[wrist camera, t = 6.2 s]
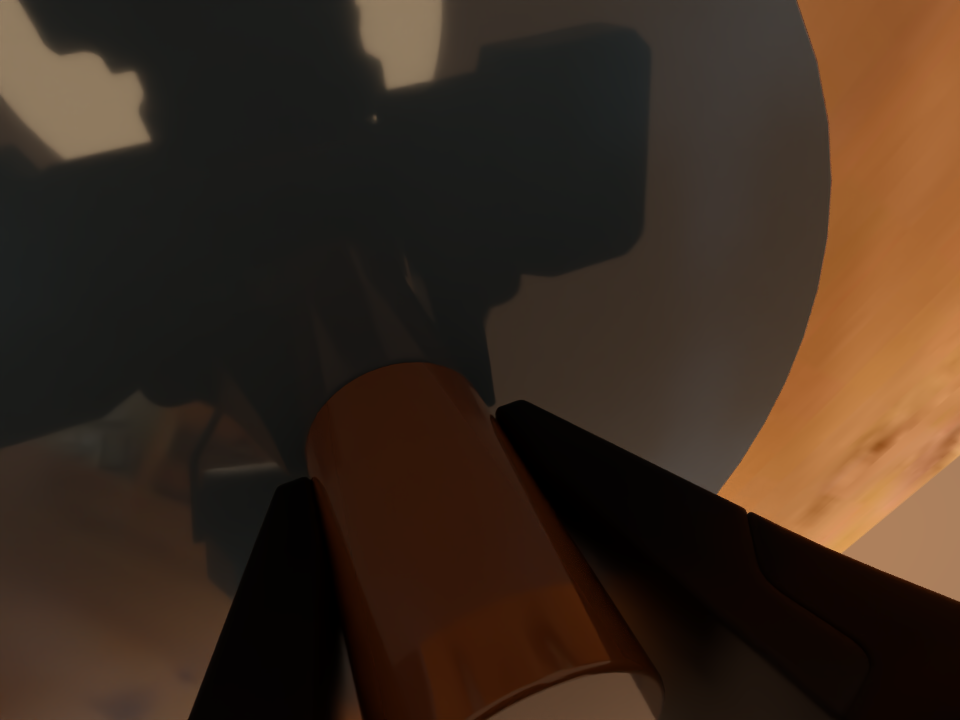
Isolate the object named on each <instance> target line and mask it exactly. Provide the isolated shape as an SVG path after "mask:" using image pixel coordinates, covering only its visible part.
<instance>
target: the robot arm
mask: <svg viewBox="0 0 960 720" xmlns="http://www.w3.org/2000/svg"><path fill="white" fill-rule="evenodd" d="M495 419H496V421H497V422H498V424H499V425H500V427H501V428H502V430H503V431H504V433H505V435H506V436H507V438H508V439H509V441H510V442H511V444H512V445H513V447H514V448H515V450H516V452H517V453H518V455H519V456H520V458H521V459H522V461H523V462H524V464H525V466H526V467H527V469H528V470H529V472H530V473H531V475H532V476H533V478H534V479H535V481H536V483H537V484H538V486H539V487H540V489H541V490H542V492H543V493H544V495H545V497H546V498H547V500H548V501H549V503H550V504H551V506H552V507H553V509H554V511H555V512H556V514H557V515H558V517H559V518H560V520H561V521H562V523H563V524H564V526H565V528H566V529H567V531H568V532H569V534H570V535H571V537H572V538H573V540H574V542H575V543H576V545H577V546H578V548H579V549H580V551H581V552H582V554H583V555H584V557H585V559H586V560H587V562H588V563H589V565H590V566H591V568H592V569H593V571H594V573H595V574H596V576H597V577H598V579H599V580H600V582H601V583H602V585H603V586H604V588H605V590H606V591H607V593H608V594H609V596H610V597H611V599H612V600H613V602H614V604H615V605H616V607H617V608H618V610H619V611H620V613H621V614H622V616H623V617H624V619H625V621H626V622H627V624H628V625H629V627H630V628H631V630H632V631H633V633H634V635H635V636H636V638H637V639H638V641H639V642H640V644H641V645H642V647H643V649H644V650H645V652H646V653H647V655H648V656H649V658H650V659H651V661H652V662H653V664H654V666H655V667H656V669H657V670H658V672H659V673H660V675H661V677H662V680H663V684H664V688H665V701H664V705H663V709H662V711H661V714H660V716H659V718H658V720H960V602H959V601H956V600H954V599H951V598H949V597H946V596H944V595H941V594H939V593H936V592H934V591H931V590H929V589H926V588H924V587H921V586H918V585H916V584H914V583H911V582H909V581H906V580H904V579H901V578H898V577H896V576H894V575H891V574H889V573H886V572H883V571H881V570H879V569H876V568H874V567H871V566H869V565H867V564H864V563H862V562H859V561H857V560H855V559H852V558H850V557H848V556H845V555H843V554H841V553H838V552H836V551H833V550H831V549H829V548H826V547H824V546H822V545H820V544H818V543H816V542H814V541H811V540H809V539H807V538H805V537H803V536H801V535H799V534H796V533H794V532H792V531H790V530H788V529H786V528H784V527H781V526H779V525H777V524H775V523H773V522H771V521H769V520H767V519H765V518H763V517H761V516H759V515H757V514H755V513H753V512H749V513H748V514H747V512H746V510H745V509H744V508H742V507H740V506H738V505H736V504H734V503H732V502H730V501H728V500H726V499H724V498H722V497H720V496H718V495H716V494H714V493H712V492H710V491H708V490H706V489H704V488H702V487H700V486H698V485H696V484H694V483H692V482H690V481H688V480H686V479H684V478H682V477H680V476H678V475H676V474H674V473H672V472H670V471H668V470H666V469H663V468H661V467H659V466H657V465H655V464H653V463H651V462H649V461H647V460H645V459H643V458H641V457H639V456H637V455H635V454H633V453H631V452H629V451H627V450H625V449H623V448H621V447H619V446H617V445H615V444H613V443H611V442H609V441H607V440H605V439H603V438H601V437H599V436H597V435H595V434H593V433H591V432H589V431H587V430H585V429H583V428H581V427H579V426H576V425H574V424H572V423H570V422H568V421H566V420H564V419H562V418H560V417H558V416H556V415H554V414H552V413H550V412H548V411H546V410H544V409H542V408H540V407H538V406H536V405H534V404H532V403H530V402H528V401H526V400H517V401H514V402H511V403H508V404H506V405H503V406H500V407H498V408H497V410H496V412H495ZM188 720H361V715H360V711H359V706H358V701H357V697H356V692H355V688H354V683H353V678H352V674H351V669H350V665H349V660H348V655H347V651H346V646H345V642H344V637H343V632H342V628H341V623H340V619H339V614H338V610H337V605H336V600H335V595H334V589H333V584H332V578H331V573H330V568H329V563H328V558H327V552H326V548H325V543H324V539H323V534H322V530H321V525H320V521H319V516H318V512H317V507H316V503H315V498H314V493H313V489H312V484H311V481H310V479H309V478H307V477H301V478H298V479H295V480H293V481H290V482H287V483H284V484H281V485H279V486H278V487H277V488H276V489H275V491H274V494H273V496H272V499H271V502H270V504H269V507H268V510H267V512H266V515H265V518H264V520H263V523H262V525H261V528H260V531H259V533H258V536H257V539H256V541H255V544H254V547H253V549H252V552H251V554H250V557H249V560H248V562H247V565H246V568H245V570H244V573H243V575H242V578H241V581H240V583H239V586H238V589H237V591H236V594H235V597H234V599H233V602H232V604H231V607H230V610H229V612H228V615H227V618H226V620H225V623H224V625H223V628H222V631H221V633H220V636H219V639H218V641H217V644H216V647H215V649H214V652H213V654H212V657H211V660H210V662H209V665H208V668H207V670H206V673H205V676H204V678H203V681H202V683H201V686H200V689H199V691H198V694H197V697H196V699H195V702H194V704H193V707H192V710H191V712H190V715H189V718H188Z"/></svg>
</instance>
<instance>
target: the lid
mask: <svg viewBox="0 0 960 720" xmlns="http://www.w3.org/2000/svg"><path fill="white" fill-rule="evenodd" d="M831 187H832V174H831V155H830V136H829V121H828V116H827V110H826V105H825V100H824V94H823V89H822V84H821V78H820V73H819V68H818V62H817V58H816V55H815V52H814V50H813V47H812V44H811V41H810V38H809V35H808V32H807V29H806V26H805V23H804V20H803V17H802V14H801V11H800V8H799V5H798V2H797V0H0V720H188V718H189V715H190V712H191V710H192V707H193V704H194V702H195V699H196V697H197V694H198V691H199V689H200V686H201V683H202V681H203V678H204V676H205V673H206V670H207V668H208V665H209V662H210V660H211V657H212V654H213V652H214V649H215V647H216V644H217V641H218V639H219V636H220V633H221V631H222V628H223V625H224V623H225V620H226V618H227V615H228V612H229V610H230V607H231V604H232V602H233V599H234V597H235V594H236V591H237V589H238V586H239V583H240V581H241V578H242V575H243V573H244V570H245V568H246V565H247V562H248V560H249V557H250V554H251V552H252V549H253V547H254V544H255V541H256V539H257V536H258V533H259V531H260V528H261V525H262V523H263V520H264V518H265V515H266V512H267V510H268V507H269V504H270V502H271V499H272V496H273V494H274V491H275V489H276V488H277V487H278V486H279V485H281V484H284V483H287V482H290V481H293V480H295V479H298V478H301V477H307V478H309V479H310V481H311V484H312V489H313V493H314V498H315V503H316V507H317V512H318V516H319V521H320V525H321V530H322V534H323V539H324V543H325V548H326V552H327V558H328V563H329V568H330V573H331V578H332V584H333V589H334V595H335V600H336V605H337V610H338V614H339V619H340V623H341V628H342V632H343V637H344V642H345V646H346V651H347V655H348V660H349V665H350V669H351V674H352V678H353V683H354V688H355V692H356V697H357V701H358V706H359V711H360V715H361V720H658V718H659V716H660V714H661V711H662V709H663V705H664V701H665V688H664V684H663V680H662V677H661V675H660V673H659V672H658V670H657V669H656V667H655V666H654V664H653V662H652V661H651V659H650V658H649V656H648V655H647V653H646V652H645V650H644V649H643V647H642V645H641V644H640V642H639V641H638V639H637V638H636V636H635V635H634V633H633V631H632V630H631V628H630V627H629V625H628V624H627V622H626V621H625V619H624V617H623V616H622V614H621V613H620V611H619V610H618V608H617V607H616V605H615V604H614V602H613V600H612V599H611V597H610V596H609V594H608V593H607V591H606V590H605V588H604V586H603V585H602V583H601V582H600V580H599V579H598V577H597V576H596V574H595V573H594V571H593V569H592V568H591V566H590V565H589V563H588V562H587V560H586V559H585V557H584V555H583V554H582V552H581V551H580V549H579V548H578V546H577V545H576V543H575V542H574V540H573V538H572V537H571V535H570V534H569V532H568V531H567V529H566V528H565V526H564V524H563V523H562V521H561V520H560V518H559V517H558V515H557V514H556V512H555V511H554V509H553V507H552V506H551V504H550V503H549V501H548V500H547V498H546V497H545V495H544V493H543V492H542V490H541V489H540V487H539V486H538V484H537V483H536V481H535V479H534V478H533V476H532V475H531V473H530V472H529V470H528V469H527V467H526V466H525V464H524V462H523V461H522V459H521V458H520V456H519V455H518V453H517V452H516V450H515V448H514V447H513V445H512V444H511V442H510V441H509V439H508V438H507V436H506V435H505V433H504V431H503V430H502V428H501V427H500V425H499V424H498V422H497V421H496V419H495V412H496V410H497V408H498V407H500V406H503V405H506V404H508V403H511V402H514V401H517V400H526V401H528V402H530V403H532V404H534V405H536V406H538V407H540V408H542V409H544V410H546V411H548V412H550V413H552V414H554V415H556V416H558V417H560V418H562V419H564V420H566V421H568V422H570V423H572V424H574V425H576V426H579V427H581V428H583V429H585V430H587V431H589V432H591V433H593V434H595V435H597V436H599V437H601V438H603V439H605V440H607V441H609V442H611V443H613V444H615V445H617V446H619V447H621V448H623V449H625V450H627V451H629V452H631V453H633V454H635V455H637V456H639V457H641V458H643V459H645V460H647V461H649V462H651V463H653V464H655V465H657V466H659V467H661V468H663V469H666V470H668V471H670V472H672V473H674V474H676V475H678V476H680V477H682V478H684V479H686V480H688V481H690V482H692V483H694V484H696V485H698V486H700V487H702V488H704V489H706V490H708V491H710V492H712V493H714V494H716V495H717V493H718V492H719V491H720V489H721V488H722V487H723V485H724V484H725V483H726V481H727V480H728V479H729V477H730V476H731V474H732V473H733V472H734V470H735V469H736V468H737V466H738V465H739V464H740V462H741V461H742V459H743V457H744V456H745V454H746V453H747V451H748V449H749V448H750V446H751V445H752V443H753V441H754V440H755V438H756V437H757V435H758V433H759V432H760V430H761V429H762V427H763V425H764V424H765V422H766V420H767V418H768V416H769V414H770V412H771V410H772V408H773V406H774V404H775V402H776V400H777V398H778V396H779V394H780V392H781V391H782V389H783V387H784V385H785V383H786V381H787V378H788V376H789V373H790V371H791V368H792V366H793V363H794V361H795V358H796V356H797V353H798V351H799V348H800V346H801V343H802V341H803V338H804V336H805V332H806V329H807V326H808V322H809V319H810V315H811V312H812V309H813V305H814V302H815V298H816V295H817V292H818V288H819V283H820V277H821V272H822V267H823V261H824V256H825V250H826V245H827V239H828V230H829V215H830V201H831Z"/></svg>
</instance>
